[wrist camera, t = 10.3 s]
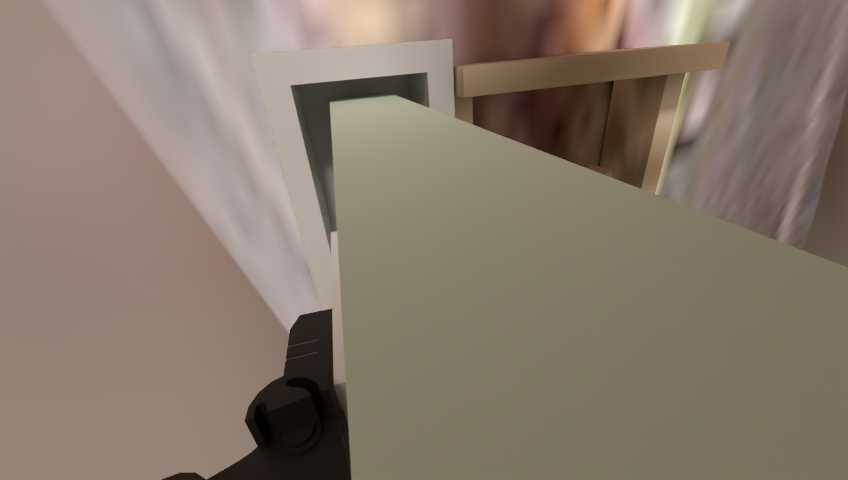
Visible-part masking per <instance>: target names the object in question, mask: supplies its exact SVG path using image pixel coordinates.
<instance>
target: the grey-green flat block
mask: <svg viewBox="0 0 848 480" xmlns="http://www.w3.org/2000/svg"><path fill="white" fill-rule="evenodd" d="M329 101H330V118H331V135H332V152H333V169H334V187H335V204H336V221H337V238H338V256H339V273H340V290H341V307H342V325H343V342H344V359H345V376H346V393H347V411H348V428H349V445H350V462H351V480H848V268H847V267H844V266H841V265H838V264H836V263H833V262H831V261H828V260H825V259H823V258H820V257H818V256H815V255H812V254H810V253H807V252H805V251H802V250H799V249H797V248H794V247H792V246H789V245H786V244H784V243H781V242H779V241H776V240H773V239H771V238H768V237H765V236H763V235H760V234H758V233H755V232H752V231H750V230H747V229H745V228H742V227H739V226H737V225H734V224H731V223H729V222H726V221H724V220H721V219H718V218H716V217H713V216H711V215H708V214H705V213H703V212H700V211H697V210H695V209H692V208H690V207H687V206H684V205H682V204H679V203H677V202H674V201H671V200H669V199H666V198H663V197H661V196H658V195H656V194H653V193H650V192H648V191H645V190H643V189H640V188H637V187H635V186H632V185H629V184H627V183H624V182H622V181H619V180H616V179H614V178H611V177H609V176H606V175H603V174H601V173H598V172H595V171H593V170H590V169H588V168H585V167H582V166H580V165H577V164H575V163H572V162H569V161H567V160H564V159H561V158H559V157H556V156H554V155H551V154H548V153H546V152H543V151H541V150H538V149H535V148H533V147H530V146H527V145H525V144H522V143H520V142H517V141H514V140H512V139H509V138H507V137H504V136H501V135H499V134H496V133H493V132H491V131H488V130H486V129H483V128H480V127H478V126H475V125H473V124H470V123H467V122H465V121H462V120H459V119H457V118H454V117H452V116H449V115H446V114H444V113H441V112H438V111H436V110H433V109H431V108H428V107H425V106H423V105H420V104H418V103H415V102H412V101H410V100H407V99H404V98H402V97H399V96H397V95H394V94H391V93H389V92H386V93H376V94H367V95H357V96H348V97H338V98H329Z"/></svg>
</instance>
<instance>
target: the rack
mask: <svg viewBox="0 0 848 480" xmlns="http://www.w3.org/2000/svg"><path fill="white" fill-rule="evenodd" d="M729 44H730V41H727V42H713V43H700V44H686V45H672V46H658V47H644V48H631V49H620V50H610V51H599V52H588V53H578V54H567V55H556V56H546V57H535V58H524V59H514V60H503V61H492V62H482V63H471V64H460V65H453V75H454V104H455V118H457V119H459V120H462V121H465V122H467V123H470V124H473V97H474V96H482V95H491V94H500V93H509V92H518V91H527V90H536V89H544V88H553V87H562V86H571V85H580V84H589V83H598V82H606V81H614V83H613V89H612V95H611V101H610V107H609V113H608V120H607V126H606V132H605V138H604V144H603V150H602V156H601V162H600V167H602V168H605V169H607V170H610V171H611V174H612V178H614V179H616V180H619V181H622V182H624V183H627V184H629V185H632V186H635V187H637V188H640V189H643V190H645V191H648V192H650V193H653V194H655V191H656V187H657V183H658V179H659V175H660V171H661V167H662V163H663V159H664V156H665V152H666V148H667V144H668V140H669V136H670V132H671V128H672V124H673V120H674V116H675V112H676V108H677V104H678V100H679V96H680V92H681V88H682V84H683V80H684V76H685V73H686V72H695V71H704V70H713V69H721V68H723V65H724V61H725V58H726V55H727V51H728V48H729Z"/></svg>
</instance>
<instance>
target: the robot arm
mask: <svg viewBox="0 0 848 480" xmlns="http://www.w3.org/2000/svg"><path fill="white" fill-rule="evenodd" d="M331 273H332V309H327V310H323V311H318V312H314V313H309V314H304V315H300V316H299V318H298V319H297V321H296V322H295V323H294V325H293V326H292V328H291V329H290V334H289V341H288V348H287V356H286V359H287V361H286V362H285V369H284V376H283V377H281V378H279V379H277V380H275V381H273V382H271V383H270V384H268V385H267V386H266V387H265V388H264V389H263V390H261V391H260V392H259V393H258V394H257V396H256V397H255V399H254V400H253V401H252V403H251V404H250V406H249V408H248V411H247V415H246V419H245V422H246V424H247V426H248V428H249V430H250V432H251V434H252V436H253V438H254V440H255V442H256V444H257V445H258V447H257V448H256V449H255V450H254V451H252V452H251V453H250V454H248V455H247V456H246V457H244V458H243V459H241V460H240V461H238V462H236V463H235V464H233V465H231V466H229V467H228V468H226V469H224V470H223V471H221V472H219V473H217V474H216V475H214V476H212V477H211V478H209V479H207V480H351V462H350V445H349V428H348V411H347V393H346V376H345V359H344V342H343V325H342V307H341V290H340V273H339V256H338V238H337V231H335V232H331ZM162 480H206V479H204V478H203V477H201V476H200V475H198V474H197V473H178V474H176V475H173V476H170V477H167V478H165V479H162Z"/></svg>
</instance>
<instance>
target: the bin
mask: <svg viewBox="0 0 848 480" xmlns="http://www.w3.org/2000/svg"><path fill="white" fill-rule="evenodd" d="M250 58H251V61H252V65H253V68H254V72H255V75H256V79H257V82H258V86H259V90H260V93H261V97H262V100H263V104H264V107H265V111H266V114H267V118H268V122H269V125H270V129H271V132H272V136H273V139H274V143H275V146H276V150H277V154H278V157H279V161H280V164H281V168H282V171H283V175H284V179H285V182H286V186H287V189H288V193H289V196H290V200H291V203H292V207H293V211H294V214H295V218H296V221H297V225H298V228H299V232H300V235H301V239H302V243H303V246H304V250H305V253H306V257H307V260H308V264H309V267H310V271H311V275H312V278H313V282H314V285H315V289H316V292H317V296H318V299H319V303H320V307H321V310H322V311H323V310H327V309H332V273H331V232H335V231H337V221H336V204H335V187H334V169H333V152H332V135H331V118H330V101H329V98H338V97H348V96H357V95H367V94H376V93H386V92H389V93H391V94H394V95H397V96H399V97H402V98H404V99H407V100H410V101H412V102H415V103H418V104H420V105H423V106H425V107H428V108H431V109H433V110H436V111H438V112H441V113H444V114H446V115H449V116H452V117H454V118H455V104H454V75H453V47H452V38H451V39H439V40H426V41H413V42H401V43H388V44H375V45H362V46H350V47H337V48H324V49H311V50H299V51H286V52H273V53H261V54H250Z"/></svg>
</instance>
